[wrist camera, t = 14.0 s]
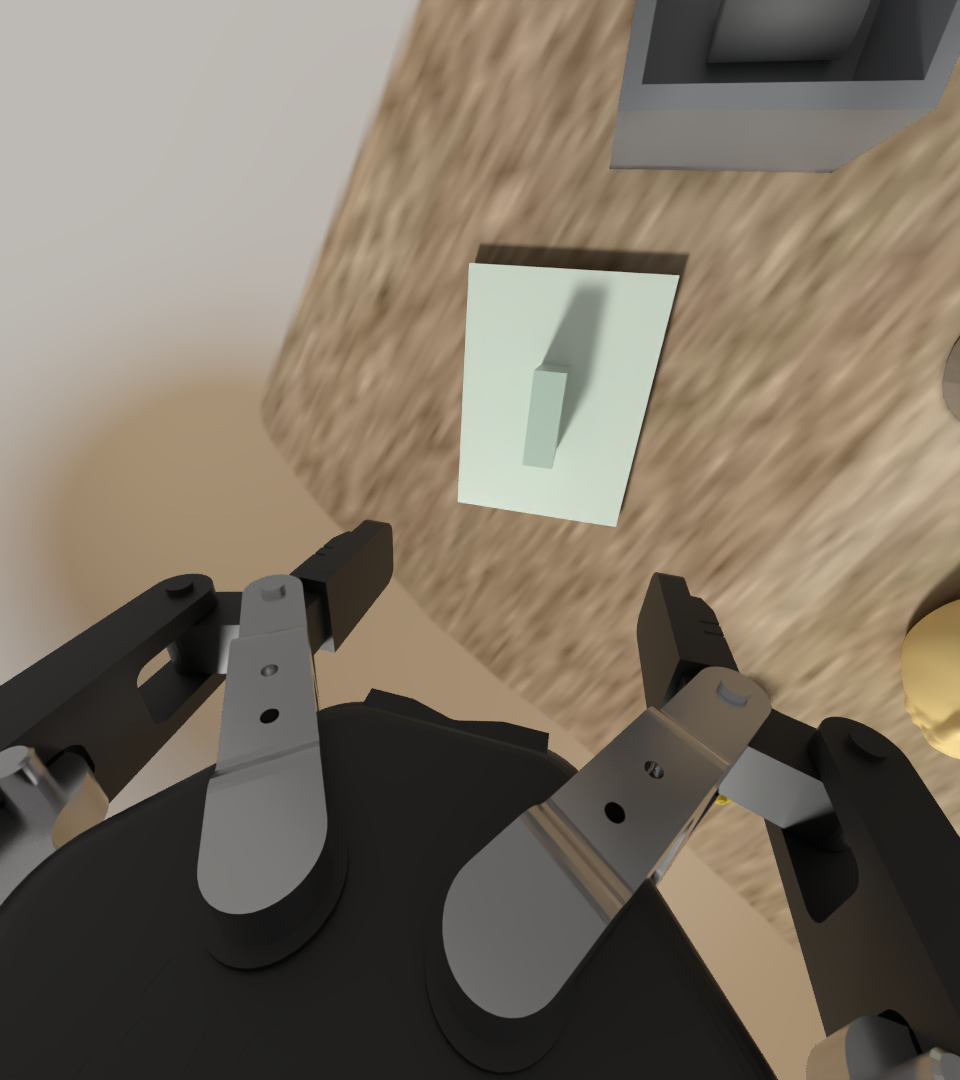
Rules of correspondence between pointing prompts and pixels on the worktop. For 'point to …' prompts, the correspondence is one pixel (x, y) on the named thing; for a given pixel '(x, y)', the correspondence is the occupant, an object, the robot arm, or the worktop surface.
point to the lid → (557, 386)
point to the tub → (778, 81)
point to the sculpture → (935, 677)
